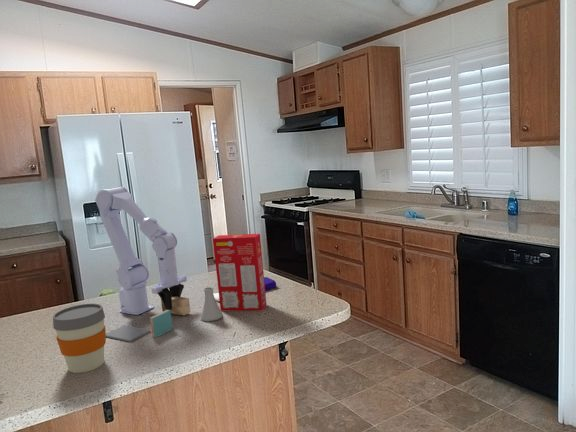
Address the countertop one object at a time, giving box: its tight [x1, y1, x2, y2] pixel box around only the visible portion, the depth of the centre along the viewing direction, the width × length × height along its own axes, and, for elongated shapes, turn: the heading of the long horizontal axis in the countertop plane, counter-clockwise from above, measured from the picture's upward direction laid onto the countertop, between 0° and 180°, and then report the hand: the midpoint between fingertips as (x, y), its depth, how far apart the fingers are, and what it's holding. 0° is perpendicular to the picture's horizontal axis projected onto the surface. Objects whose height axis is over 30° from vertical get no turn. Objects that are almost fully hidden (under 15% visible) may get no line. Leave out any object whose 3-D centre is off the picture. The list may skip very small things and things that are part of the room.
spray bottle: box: [213, 276, 277, 302], centre depth 177 cm, size 3×11×24 cm
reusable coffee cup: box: [52, 303, 107, 374], centre depth 124 cm, size 13×13×15 cm
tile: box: [149, 310, 173, 338], centre depth 143 cm, size 2×7×6 cm, turn 149°
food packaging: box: [212, 233, 267, 312], centre depth 158 cm, size 15×5×25 cm, turn 78°
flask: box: [200, 286, 223, 322], centre depth 152 cm, size 7×7×10 cm
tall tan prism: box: [160, 296, 191, 316], centre depth 159 cm, size 10×3×5 cm, turn 60°
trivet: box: [106, 324, 152, 343], centre depth 144 cm, size 12×8×1 cm, turn 60°
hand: (172, 307), depth 160 cm, fingers closed on tall tan prism, 3 cm apart
